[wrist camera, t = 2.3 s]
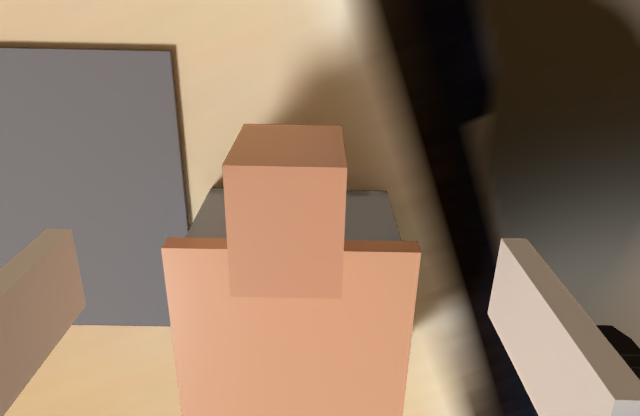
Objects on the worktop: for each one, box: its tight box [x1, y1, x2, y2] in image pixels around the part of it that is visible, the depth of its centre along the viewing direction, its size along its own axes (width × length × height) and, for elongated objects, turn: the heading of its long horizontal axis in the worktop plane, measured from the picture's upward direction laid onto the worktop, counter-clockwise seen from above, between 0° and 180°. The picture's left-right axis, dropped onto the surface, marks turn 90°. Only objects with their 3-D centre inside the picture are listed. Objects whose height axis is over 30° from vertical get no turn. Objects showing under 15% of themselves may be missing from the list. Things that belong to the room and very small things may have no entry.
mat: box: [0, 47, 189, 326], centre depth 29 cm, size 17×13×1 cm
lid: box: [161, 124, 421, 416], centre depth 22 cm, size 18×11×5 cm, turn 179°
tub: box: [186, 188, 402, 241], centre depth 28 cm, size 12×10×7 cm
